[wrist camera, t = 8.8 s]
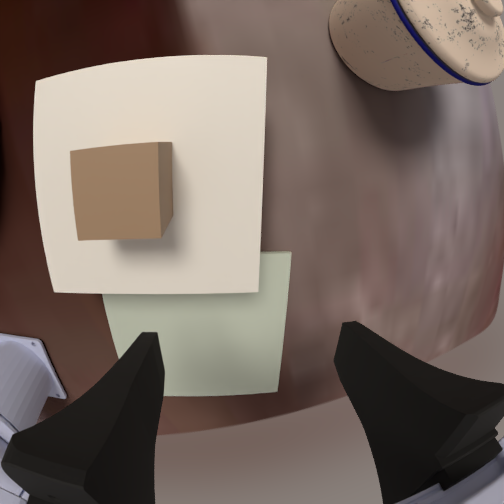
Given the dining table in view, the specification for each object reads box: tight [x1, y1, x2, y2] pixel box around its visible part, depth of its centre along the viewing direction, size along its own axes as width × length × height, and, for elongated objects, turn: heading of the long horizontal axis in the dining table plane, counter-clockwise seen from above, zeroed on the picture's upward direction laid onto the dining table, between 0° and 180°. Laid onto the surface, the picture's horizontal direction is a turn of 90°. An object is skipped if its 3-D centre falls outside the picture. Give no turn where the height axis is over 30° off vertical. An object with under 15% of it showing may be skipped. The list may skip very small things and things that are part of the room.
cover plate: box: [33, 55, 267, 294], centre depth 12 cm, size 12×12×4 cm
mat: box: [102, 251, 291, 396], centre depth 22 cm, size 14×14×1 cm
